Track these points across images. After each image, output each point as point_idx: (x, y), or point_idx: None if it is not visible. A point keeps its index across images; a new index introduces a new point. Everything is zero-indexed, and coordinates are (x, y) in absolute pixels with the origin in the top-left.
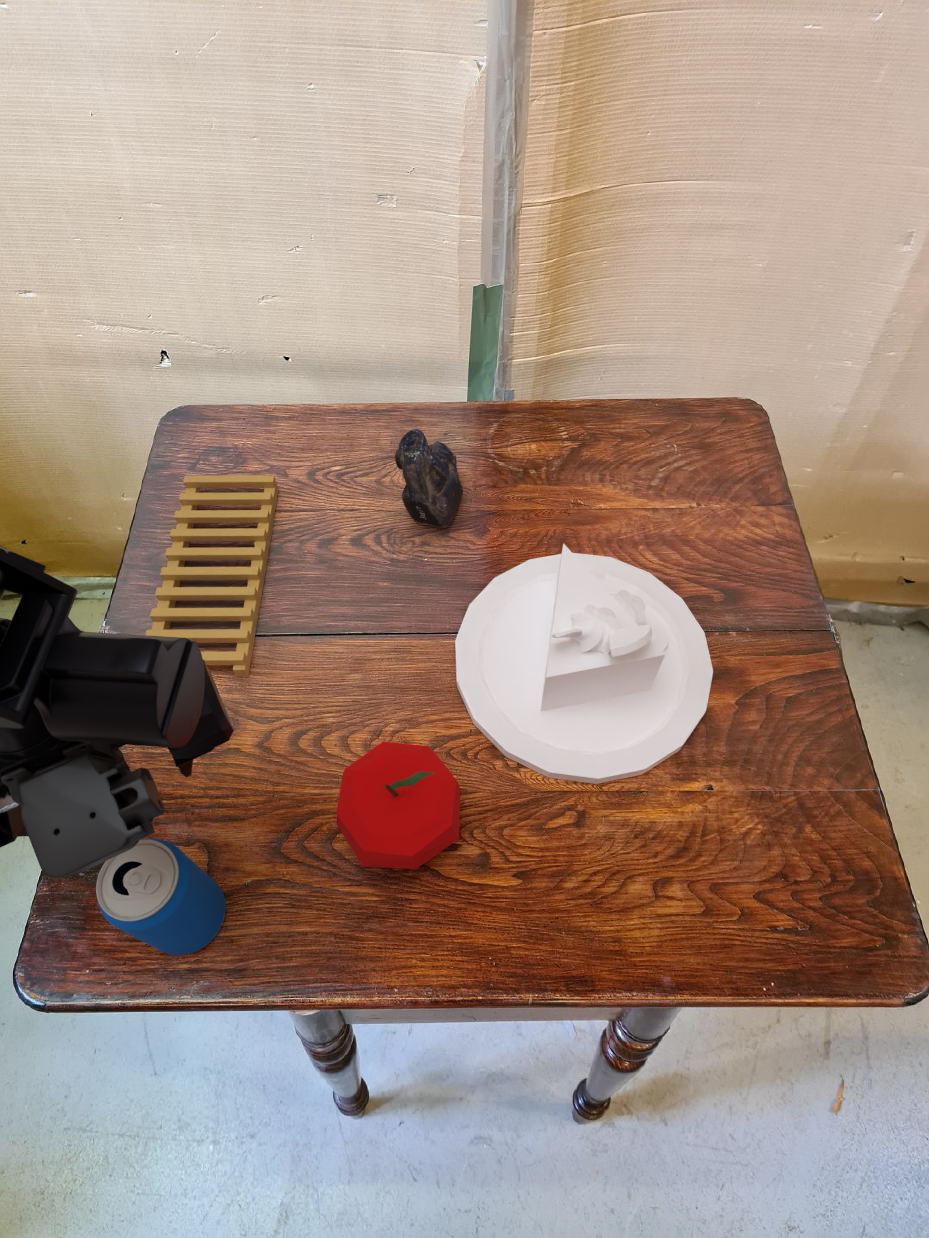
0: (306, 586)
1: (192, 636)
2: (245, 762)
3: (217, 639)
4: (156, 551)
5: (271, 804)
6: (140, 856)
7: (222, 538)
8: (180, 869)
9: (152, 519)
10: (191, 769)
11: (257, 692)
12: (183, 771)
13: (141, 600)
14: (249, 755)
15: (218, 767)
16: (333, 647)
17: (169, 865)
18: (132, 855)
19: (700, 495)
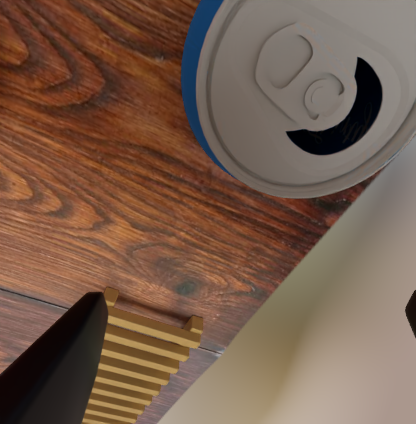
0: (35, 336)
1: (144, 345)
2: (128, 210)
3: (121, 334)
4: (164, 392)
5: (107, 149)
6: (281, 153)
7: (100, 396)
8: (196, 63)
9: (160, 409)
10: (48, 329)
11: (100, 270)
12: (64, 340)
13: (187, 368)
14: (122, 215)
15: (159, 217)
16: (10, 280)
17: (220, 88)
18: (297, 164)
19: None
